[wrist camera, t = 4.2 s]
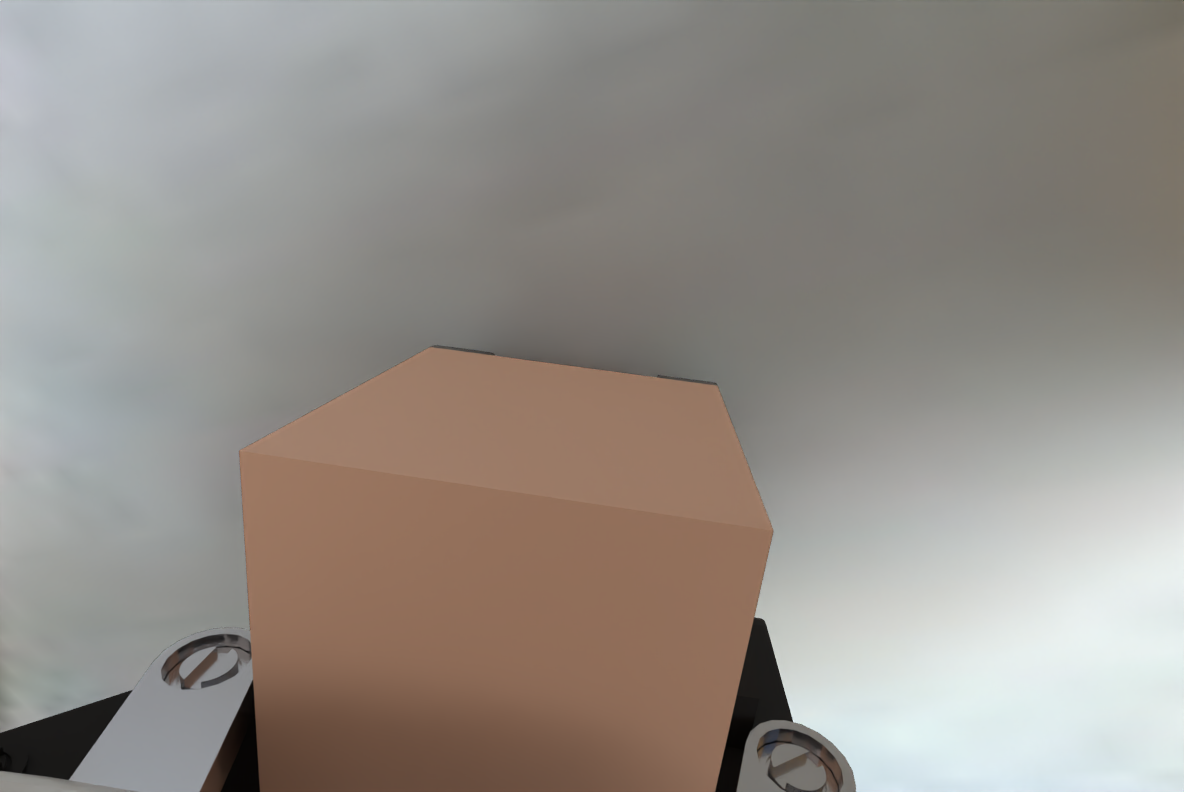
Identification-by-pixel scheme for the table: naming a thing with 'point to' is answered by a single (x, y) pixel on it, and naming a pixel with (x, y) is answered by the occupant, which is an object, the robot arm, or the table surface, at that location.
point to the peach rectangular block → (500, 581)
